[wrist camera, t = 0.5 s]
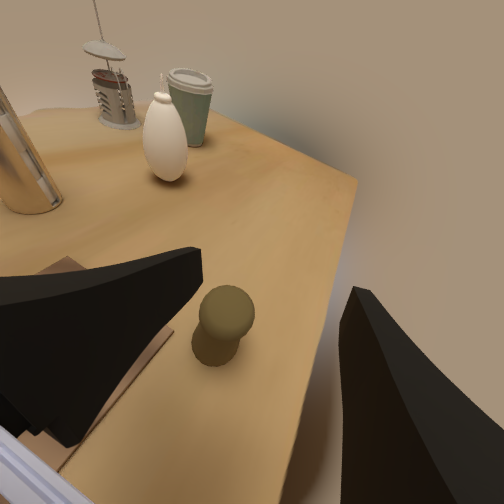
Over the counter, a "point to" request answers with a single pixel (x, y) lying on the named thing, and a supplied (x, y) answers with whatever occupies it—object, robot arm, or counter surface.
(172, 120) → the white vase
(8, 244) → the counter surface
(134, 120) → the french press
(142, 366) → the walnut mat
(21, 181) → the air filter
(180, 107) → the disposable coffee cup
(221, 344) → the cork
